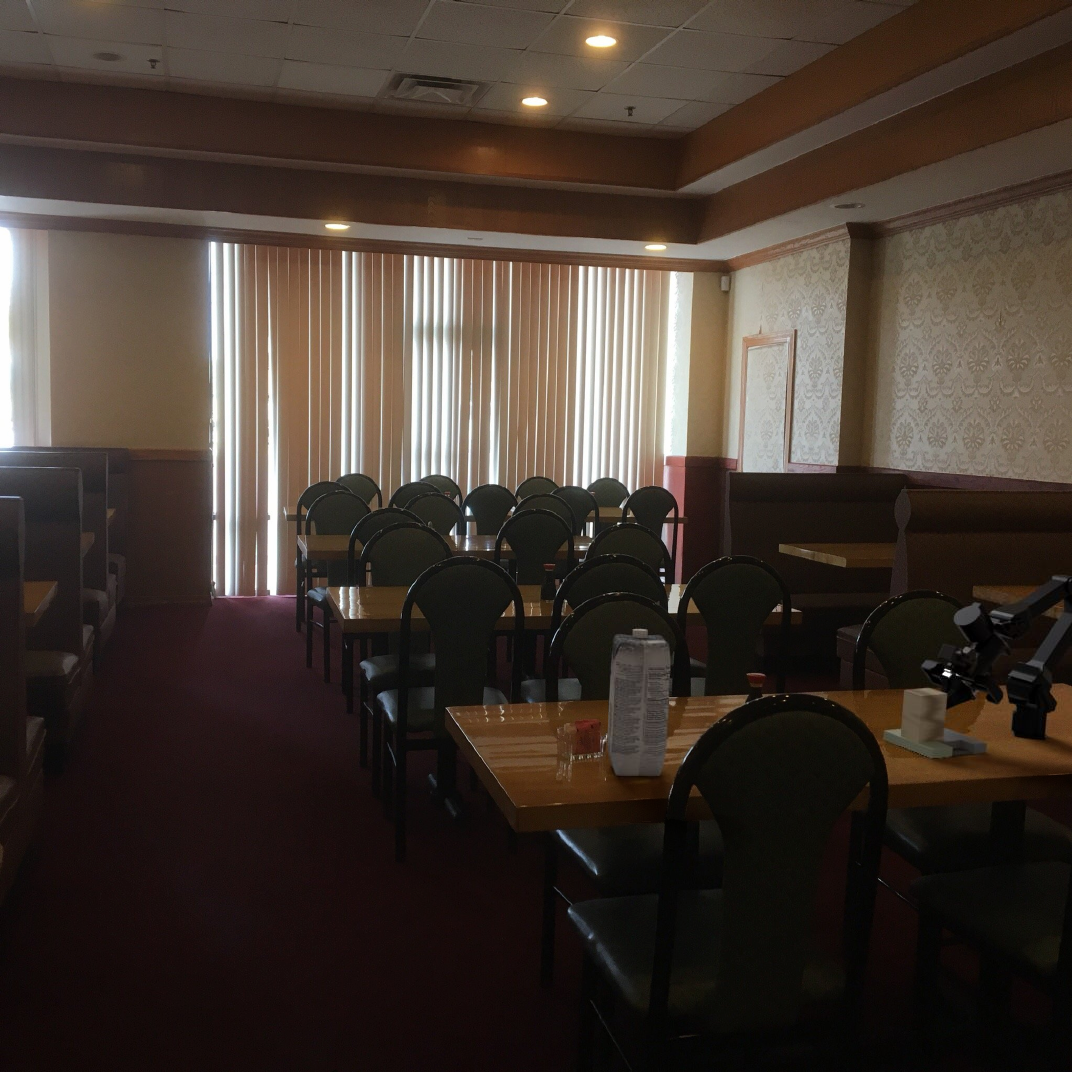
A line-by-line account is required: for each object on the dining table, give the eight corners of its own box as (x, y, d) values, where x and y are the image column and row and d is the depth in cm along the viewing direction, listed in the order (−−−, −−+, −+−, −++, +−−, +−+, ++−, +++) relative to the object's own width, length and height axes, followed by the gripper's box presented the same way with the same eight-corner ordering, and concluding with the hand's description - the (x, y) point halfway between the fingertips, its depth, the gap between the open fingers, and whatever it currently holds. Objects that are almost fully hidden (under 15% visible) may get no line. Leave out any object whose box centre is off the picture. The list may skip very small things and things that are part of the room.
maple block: (925, 733, 233) (929, 687, 232) (943, 740, 229) (947, 693, 228) (900, 736, 230) (904, 690, 229) (917, 743, 226) (921, 696, 225)
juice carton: (667, 778, 203) (674, 636, 200) (611, 778, 202) (618, 635, 199) (658, 763, 212) (665, 627, 209) (604, 762, 211) (611, 625, 208)
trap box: (936, 733, 241) (936, 724, 240) (986, 752, 228) (986, 743, 228) (883, 739, 234) (884, 730, 234) (931, 759, 222) (932, 749, 222)
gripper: (930, 623, 239) (887, 675, 236) (998, 640, 222) (953, 697, 219) (954, 656, 243) (912, 708, 240) (1022, 676, 227) (979, 732, 223)
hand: (937, 710), depth 230 cm, fingers closed, pressing on maple block
